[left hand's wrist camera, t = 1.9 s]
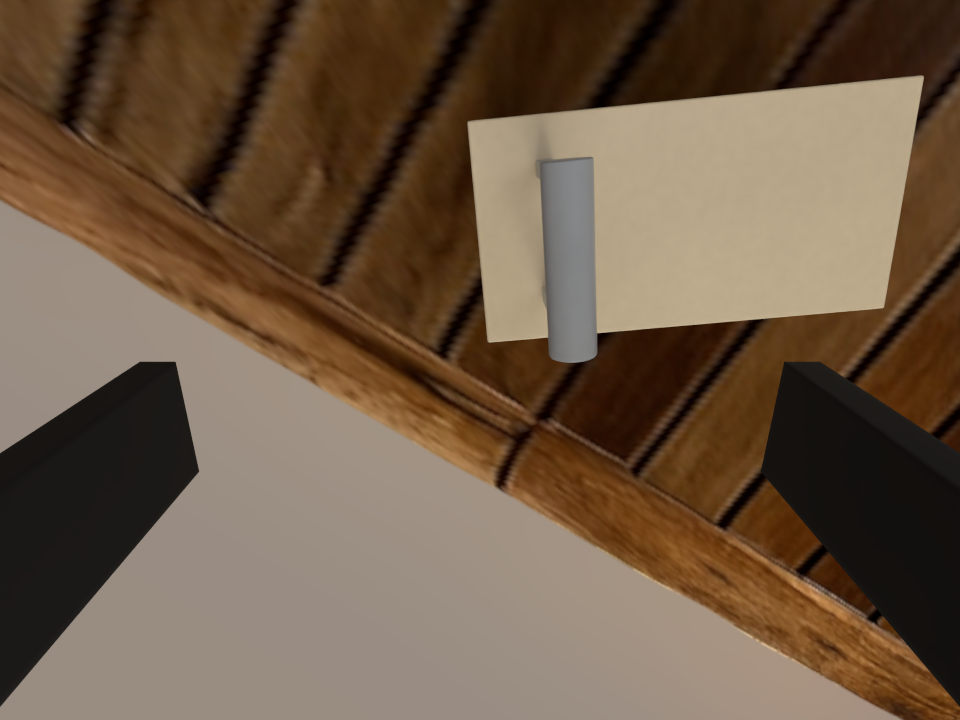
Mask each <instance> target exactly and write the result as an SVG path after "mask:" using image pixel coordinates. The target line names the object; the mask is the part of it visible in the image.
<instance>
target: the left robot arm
mask: <svg viewBox="0 0 960 720" xmlns="http://www.w3.org/2000/svg"><path fill="white" fill-rule="evenodd" d="M198 472H199V469H198V464H197V460H196V455H195V450H194V446H193V441H192V436H191V432H190V427H189V422H188V418H187V413H186V409H185V404H184V399H183V394H182V390H181V385H180V381H179V376H178V371H177V366H176V362H139V363H138V364H136V365H134V366H133V367H131V368H130V369H128V370H127V371H125V372H124V373H122V374H121V375H119V376H118V377H116V378H115V379H113V380H112V381H110V382H108V383H107V384H105V385H104V386H102V387H101V388H99V389H98V390H96V391H95V392H93V393H92V394H90V395H89V396H87V397H86V398H84V399H82V400H81V401H79V402H78V403H76V404H75V405H73V406H72V407H70V408H69V409H67V410H66V411H64V412H63V413H61V414H60V415H58V416H57V417H55V418H54V419H52V420H50V421H49V422H47V423H46V424H44V425H43V426H41V427H40V428H38V429H37V430H35V431H34V432H32V433H31V434H29V435H27V436H26V437H24V438H23V439H21V440H20V441H18V442H17V443H15V444H14V445H12V446H11V447H9V448H8V449H6V450H5V451H3V452H2V453H0V706H1V705H2V704H3V703H4V702H5V700H6V699H7V698H8V697H9V696H10V694H11V693H12V692H13V691H14V690H15V689H16V687H17V686H18V685H19V684H20V683H21V681H22V680H23V679H24V678H25V677H26V676H27V674H28V673H29V672H30V671H31V670H32V668H33V667H34V666H35V665H36V664H37V663H38V661H39V660H40V659H41V658H42V657H43V655H44V654H45V653H46V652H47V651H48V650H49V648H50V647H51V646H52V645H53V644H54V642H55V641H56V640H57V639H58V638H59V637H60V635H61V634H62V633H63V632H64V631H65V629H66V628H67V627H68V626H69V625H70V623H71V622H72V621H73V620H74V619H75V618H76V616H77V615H78V614H79V613H80V612H81V611H82V609H83V608H84V607H85V606H86V605H87V603H88V602H89V601H90V600H91V599H92V597H93V596H94V595H95V594H96V593H97V592H98V590H99V589H100V588H101V587H102V586H103V585H104V583H105V582H106V581H107V580H108V579H109V577H110V576H111V575H112V574H113V573H114V572H115V570H116V569H117V568H118V567H119V566H120V564H121V563H122V562H123V561H124V560H125V558H126V557H127V556H128V555H129V554H130V553H131V551H132V550H133V549H134V548H135V547H136V545H137V544H138V543H139V542H140V541H141V540H142V538H143V537H144V536H145V535H146V534H147V532H148V531H149V530H150V529H151V528H152V527H153V525H154V524H155V523H156V522H157V521H158V519H159V518H160V517H161V516H162V515H163V514H164V512H165V511H166V510H167V509H168V508H169V506H170V505H171V504H172V503H173V502H174V501H175V499H176V498H177V497H178V496H179V495H180V493H181V492H182V491H183V490H184V489H185V488H186V486H187V485H188V484H189V483H190V482H191V480H192V479H193V478H194V477H195V476H196V475H197V473H198ZM761 472H762V473H763V475H764V476H765V477H766V478H767V479H768V480H769V482H770V483H771V484H772V485H773V486H774V488H775V489H776V490H777V491H778V492H779V493H780V495H781V496H782V497H783V498H784V499H785V501H786V502H787V503H788V504H789V505H790V506H791V508H792V509H793V510H794V511H795V512H796V514H797V515H798V516H799V517H800V518H801V519H802V521H803V522H804V523H805V524H806V525H807V527H808V528H809V529H810V530H811V531H812V532H813V534H814V535H815V536H816V537H817V538H818V540H819V541H820V542H821V543H822V544H823V545H824V547H825V548H826V549H827V550H828V551H829V553H830V554H831V555H832V556H833V557H834V558H835V560H836V561H837V562H838V563H839V564H840V566H841V567H842V568H843V569H844V570H845V572H846V573H847V574H848V575H849V576H850V577H851V579H852V580H853V581H854V582H855V583H856V585H857V586H858V587H859V588H860V589H861V590H862V592H863V593H864V594H865V595H866V596H867V598H868V599H869V600H870V601H871V602H872V603H873V605H874V606H875V607H876V608H877V609H878V611H879V612H880V613H881V614H882V615H883V616H884V618H885V619H886V620H887V621H888V622H889V624H890V625H891V626H892V627H893V628H894V629H895V631H896V632H897V633H898V634H899V635H900V637H901V638H902V639H903V640H904V641H905V642H906V644H907V645H908V646H909V647H910V648H911V650H912V651H913V652H914V653H915V654H916V655H917V657H918V658H919V659H920V660H921V661H922V663H923V664H924V665H925V666H926V667H927V668H928V670H929V671H930V672H931V673H932V674H933V676H934V677H935V678H936V679H937V680H938V681H939V683H940V684H941V685H942V686H943V687H944V689H945V690H946V691H947V692H948V693H949V694H950V696H951V697H952V698H953V699H954V700H955V702H956V703H957V704H958V705H959V706H960V453H958V452H957V451H955V450H954V449H952V448H951V447H949V446H948V445H946V444H945V443H943V442H942V441H940V440H939V439H937V438H936V437H934V436H933V435H931V434H929V433H928V432H926V431H925V430H923V429H922V428H920V427H919V426H917V425H916V424H914V423H913V422H911V421H910V420H908V419H907V418H905V417H903V416H902V415H900V414H899V413H897V412H896V411H894V410H893V409H891V408H890V407H888V406H887V405H885V404H884V403H882V402H881V401H879V400H878V399H876V398H874V397H873V396H871V395H870V394H868V393H867V392H865V391H864V390H862V389H861V388H859V387H858V386H856V385H855V384H853V383H852V382H850V381H848V380H847V379H845V378H844V377H842V376H841V375H839V374H838V373H836V372H835V371H833V370H832V369H830V368H829V367H827V366H826V365H824V364H823V363H821V362H784V366H783V371H782V376H781V380H780V385H779V390H778V394H777V399H776V404H775V408H774V413H773V418H772V422H771V427H770V432H769V436H768V441H767V446H766V450H765V455H764V460H763V464H762V469H761Z"/></svg>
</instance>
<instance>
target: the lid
mask: <svg viewBox="0 0 960 720" xmlns="http://www.w3.org/2000/svg"><path fill="white" fill-rule="evenodd" d="M923 79H924V76H912V77H902V78H892V79H882V80H872V81H862V82H852V83H842V84H832V85H822V86H812V87H802V88H792V89H782V90H772V91H762V92H752V93H742V94H732V95H723V96H713V97H703V98H693V99H683V100H673V101H663V102H653V103H643V104H633V105H623V106H613V107H603V108H593V109H583V110H573V111H563V112H553V113H543V114H533V115H523V116H513V117H503V118H493V119H483V120H473V121H468V123H467V125H468V135H469V146H470V157H471V168H472V179H473V189H474V200H475V211H476V222H477V233H478V243H479V254H480V265H481V276H482V287H483V297H484V308H485V319H486V330H487V341H488V342H500V341H511V340H523V339H534V338H546V337H548V345H549V355H550V357H551V358H552V359H554V360H556V361H560V362H582V361H587V360H590V359H592V358H594V357H595V356H596V354H597V333H603V332H615V331H626V330H637V329H649V328H660V327H672V326H683V325H695V324H706V323H718V322H729V321H741V320H752V319H764V318H775V317H786V316H798V315H809V314H821V313H832V312H844V311H855V310H867V309H878V308H883V307H884V304H885V298H886V292H887V286H888V280H889V275H890V269H891V263H892V257H893V252H894V246H895V240H896V234H897V229H898V223H899V217H900V211H901V206H902V200H903V194H904V188H905V183H906V177H907V171H908V165H909V159H910V154H911V148H912V142H913V136H914V131H915V125H916V119H917V113H918V108H919V102H920V96H921V90H922V85H923Z"/></svg>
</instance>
